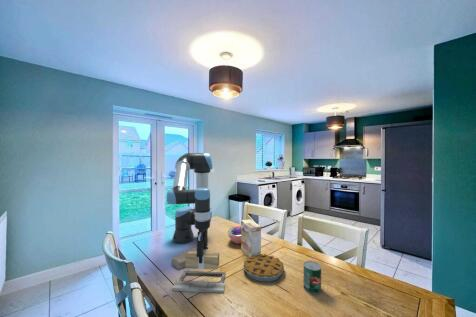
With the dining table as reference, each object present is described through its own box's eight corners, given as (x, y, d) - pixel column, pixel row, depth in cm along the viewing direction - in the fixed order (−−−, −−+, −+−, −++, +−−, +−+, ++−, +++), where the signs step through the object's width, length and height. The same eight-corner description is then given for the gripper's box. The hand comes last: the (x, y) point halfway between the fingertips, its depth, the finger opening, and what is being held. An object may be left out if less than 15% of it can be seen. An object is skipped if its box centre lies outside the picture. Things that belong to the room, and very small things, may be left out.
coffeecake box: (240, 249, 134) (240, 220, 134) (250, 247, 137) (250, 218, 136) (251, 260, 120) (251, 227, 120) (261, 257, 123) (261, 226, 123)
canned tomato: (307, 281, 100) (307, 259, 100) (323, 287, 95) (323, 264, 95) (300, 289, 94) (300, 265, 94) (318, 296, 89) (318, 272, 89)
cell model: (256, 239, 150) (256, 224, 150) (242, 250, 133) (242, 233, 133) (237, 234, 159) (237, 220, 159) (222, 244, 142) (222, 228, 142)
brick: (179, 270, 110) (179, 261, 110) (171, 265, 115) (171, 256, 115) (202, 258, 123) (203, 250, 123) (194, 254, 128) (194, 246, 128)
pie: (286, 264, 116) (286, 255, 116) (281, 288, 95) (281, 277, 95) (249, 258, 123) (249, 249, 123) (237, 278, 102) (237, 269, 102)
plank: (188, 263, 104) (188, 251, 104) (219, 264, 103) (219, 252, 103) (185, 268, 99) (185, 256, 99) (217, 269, 98) (217, 257, 98)
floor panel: (182, 272, 107) (182, 270, 107) (227, 274, 105) (227, 272, 105) (172, 290, 93) (172, 287, 93) (223, 292, 91) (223, 290, 91)
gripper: (199, 214, 110) (199, 256, 110) (189, 225, 92) (189, 276, 92) (213, 214, 110) (213, 256, 110) (205, 225, 91) (205, 276, 92)
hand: (202, 265), depth 101 cm, fingers closed on plank, 5 cm apart
